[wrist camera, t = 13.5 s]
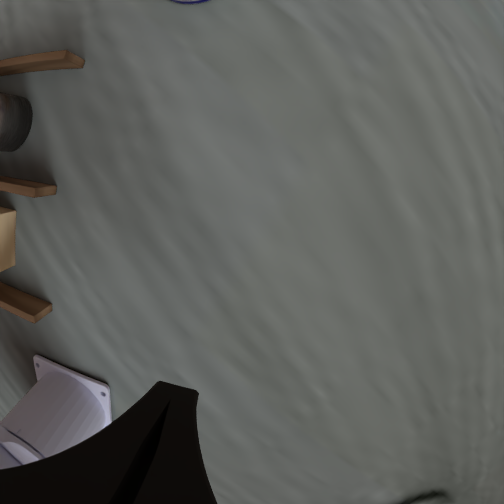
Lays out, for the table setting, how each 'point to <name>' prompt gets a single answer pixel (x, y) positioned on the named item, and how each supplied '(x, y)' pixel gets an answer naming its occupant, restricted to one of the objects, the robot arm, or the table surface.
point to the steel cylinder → (14, 121)
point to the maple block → (7, 238)
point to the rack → (3, 293)
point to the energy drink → (189, 1)
